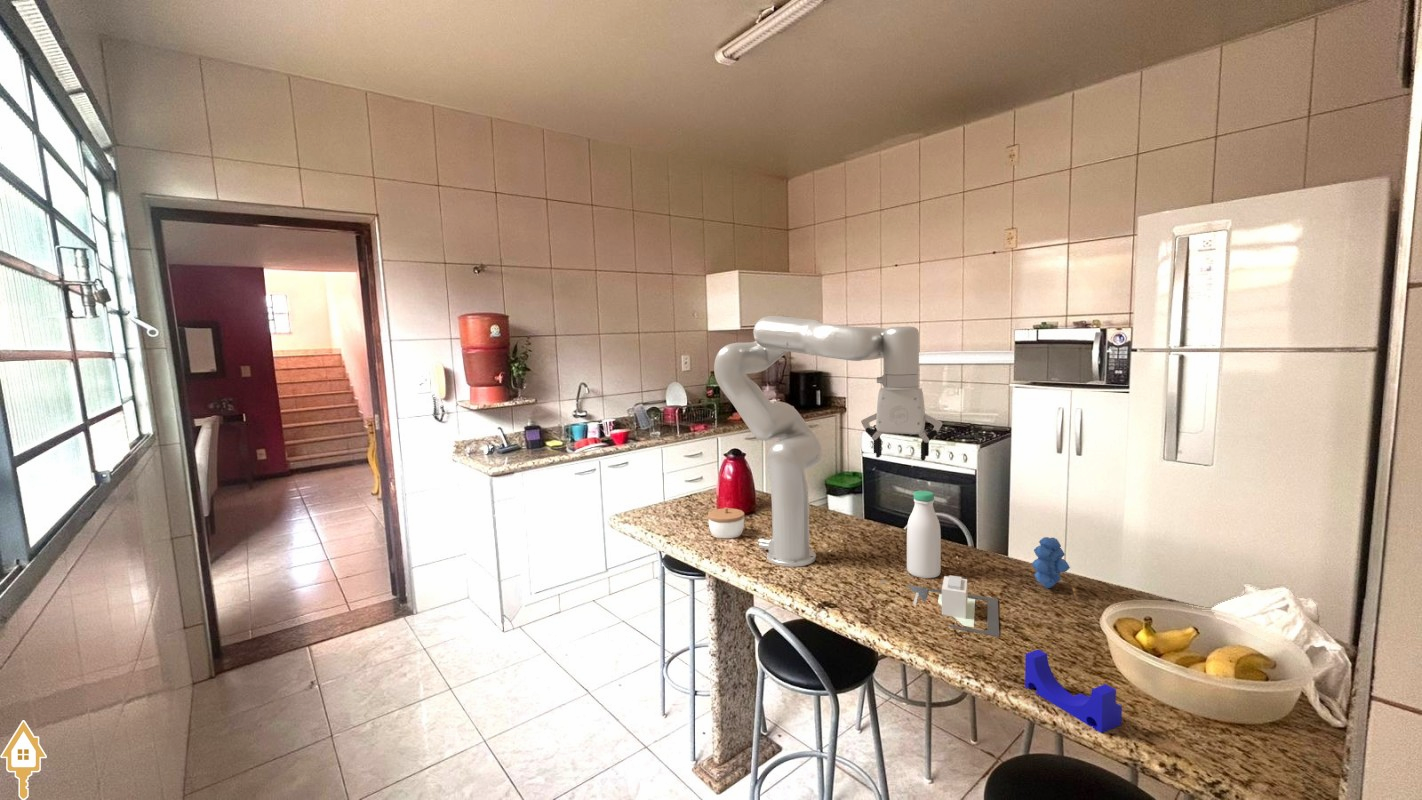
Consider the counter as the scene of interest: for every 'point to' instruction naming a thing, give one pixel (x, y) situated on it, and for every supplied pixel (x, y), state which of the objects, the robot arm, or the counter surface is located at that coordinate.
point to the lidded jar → (726, 522)
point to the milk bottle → (923, 538)
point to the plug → (954, 596)
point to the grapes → (1049, 562)
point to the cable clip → (1090, 710)
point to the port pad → (969, 612)
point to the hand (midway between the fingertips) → (900, 457)
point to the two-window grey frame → (991, 602)
